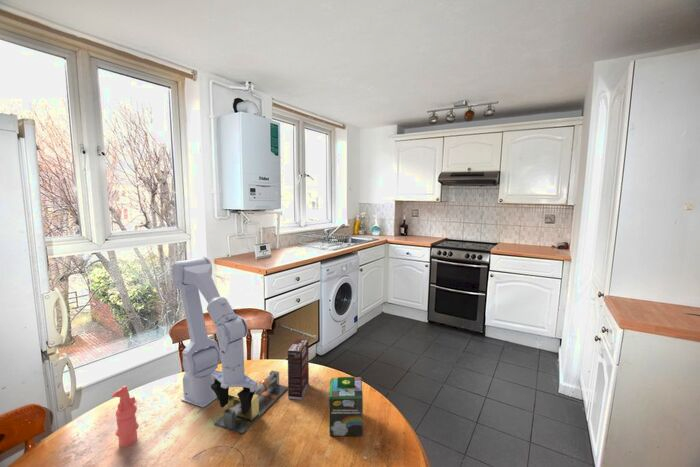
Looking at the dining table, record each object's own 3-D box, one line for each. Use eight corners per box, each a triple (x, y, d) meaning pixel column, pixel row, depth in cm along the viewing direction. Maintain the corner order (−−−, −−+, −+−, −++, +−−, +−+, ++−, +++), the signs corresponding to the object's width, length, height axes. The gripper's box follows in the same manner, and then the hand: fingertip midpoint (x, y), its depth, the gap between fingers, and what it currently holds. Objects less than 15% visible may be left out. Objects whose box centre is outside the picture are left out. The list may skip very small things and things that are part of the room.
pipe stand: (242, 434, 84) (241, 416, 83) (214, 424, 88) (213, 407, 87) (288, 388, 104) (287, 373, 104) (264, 381, 108) (263, 367, 107)
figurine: (121, 452, 78) (116, 395, 76) (111, 443, 81) (106, 389, 79) (143, 438, 82) (139, 385, 81) (134, 431, 85) (129, 379, 83)
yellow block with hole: (252, 420, 88) (251, 401, 88) (227, 412, 91) (226, 394, 91) (258, 413, 91) (258, 395, 90) (234, 405, 94) (234, 388, 94)
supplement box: (302, 400, 98) (301, 352, 96) (287, 399, 99) (286, 351, 97) (309, 384, 107) (309, 339, 105) (295, 383, 107) (295, 338, 105)
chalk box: (362, 413, 92) (362, 365, 91) (363, 437, 83) (363, 384, 82) (330, 413, 92) (330, 365, 91) (328, 437, 83) (328, 384, 82)
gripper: (201, 364, 85) (204, 410, 87) (244, 376, 80) (246, 425, 82) (221, 352, 92) (223, 395, 94) (261, 362, 86) (263, 408, 88)
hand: (235, 408), depth 88 cm, fingers open, 7 cm apart
